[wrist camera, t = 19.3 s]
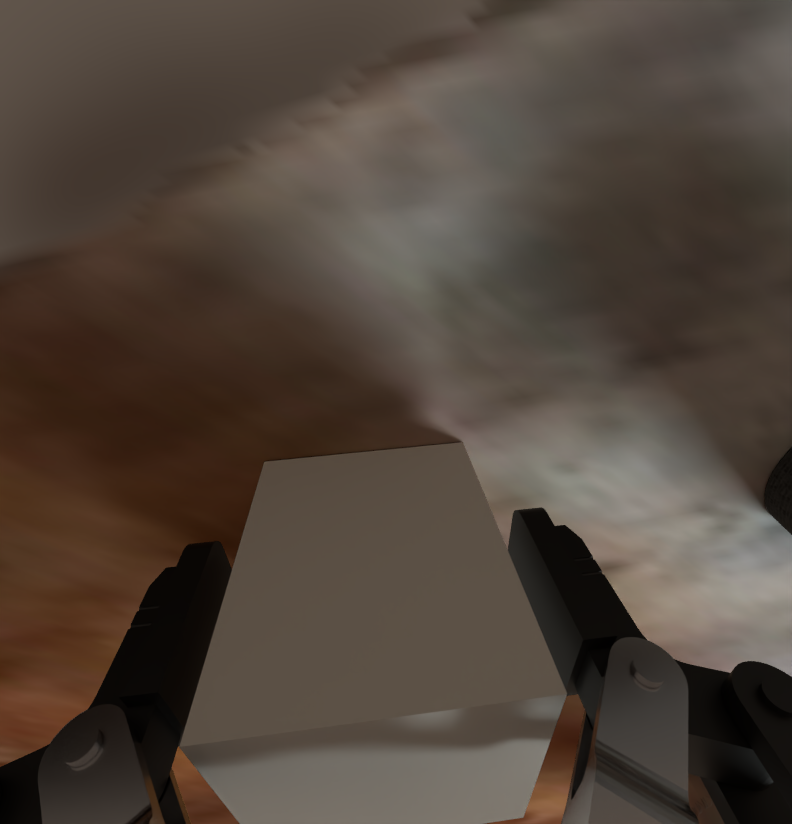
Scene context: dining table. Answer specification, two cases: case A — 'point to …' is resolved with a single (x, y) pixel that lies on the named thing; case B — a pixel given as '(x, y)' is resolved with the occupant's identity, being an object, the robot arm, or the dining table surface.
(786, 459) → the coffee cup
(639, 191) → the dining table surface
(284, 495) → the block
